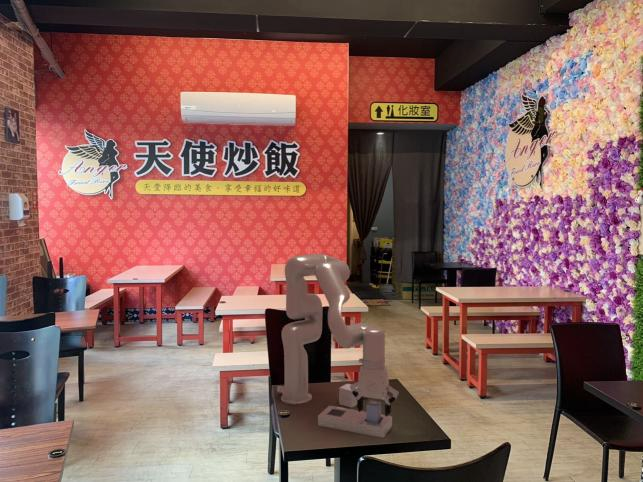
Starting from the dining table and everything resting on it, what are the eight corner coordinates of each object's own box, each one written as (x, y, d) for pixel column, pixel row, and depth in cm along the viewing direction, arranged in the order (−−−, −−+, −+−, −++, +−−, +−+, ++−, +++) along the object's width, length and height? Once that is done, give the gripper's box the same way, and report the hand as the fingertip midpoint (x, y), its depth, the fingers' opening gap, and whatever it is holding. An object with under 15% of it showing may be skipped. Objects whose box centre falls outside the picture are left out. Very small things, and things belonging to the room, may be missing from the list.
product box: (347, 401, 189) (347, 383, 189) (360, 404, 186) (360, 386, 186) (338, 405, 184) (338, 387, 184) (351, 409, 181) (351, 390, 181)
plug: (366, 430, 161) (366, 403, 161) (370, 425, 165) (370, 398, 164) (377, 432, 159) (377, 404, 159) (381, 427, 163) (381, 400, 163)
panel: (318, 426, 165) (317, 415, 165) (329, 416, 175) (329, 405, 174) (383, 439, 155) (383, 427, 155) (392, 427, 165) (392, 415, 164)
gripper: (346, 363, 161) (346, 412, 162) (395, 369, 154) (395, 421, 155) (354, 357, 168) (354, 404, 169) (401, 363, 161) (401, 412, 162)
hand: (373, 412), depth 162 cm, fingers open, 9 cm apart
